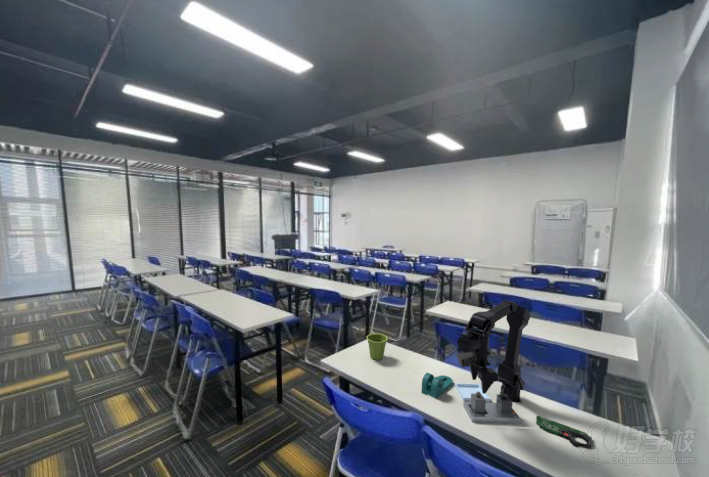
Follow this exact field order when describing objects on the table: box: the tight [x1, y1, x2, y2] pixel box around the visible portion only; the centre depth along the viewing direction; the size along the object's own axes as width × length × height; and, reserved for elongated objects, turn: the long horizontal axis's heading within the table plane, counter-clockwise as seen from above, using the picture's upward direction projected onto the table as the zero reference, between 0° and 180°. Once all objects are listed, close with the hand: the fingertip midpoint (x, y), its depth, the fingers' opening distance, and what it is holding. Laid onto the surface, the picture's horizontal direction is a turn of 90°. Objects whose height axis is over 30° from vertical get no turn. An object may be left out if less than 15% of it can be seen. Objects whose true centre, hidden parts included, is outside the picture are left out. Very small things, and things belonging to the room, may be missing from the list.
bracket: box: [421, 372, 454, 399], centre depth 127 cm, size 18×7×8 cm, turn 134°
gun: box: [535, 415, 593, 450], centre depth 101 cm, size 16×2×10 cm
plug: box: [470, 391, 486, 414], centre depth 109 cm, size 4×4×9 cm
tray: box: [453, 382, 491, 403], centre depth 123 cm, size 11×11×2 cm
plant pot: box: [366, 333, 389, 361], centre depth 156 cm, size 12×12×11 cm
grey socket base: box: [462, 392, 522, 425], centre depth 109 cm, size 18×9×9 cm, turn 89°
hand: (478, 386), depth 109 cm, fingers open, 9 cm apart
